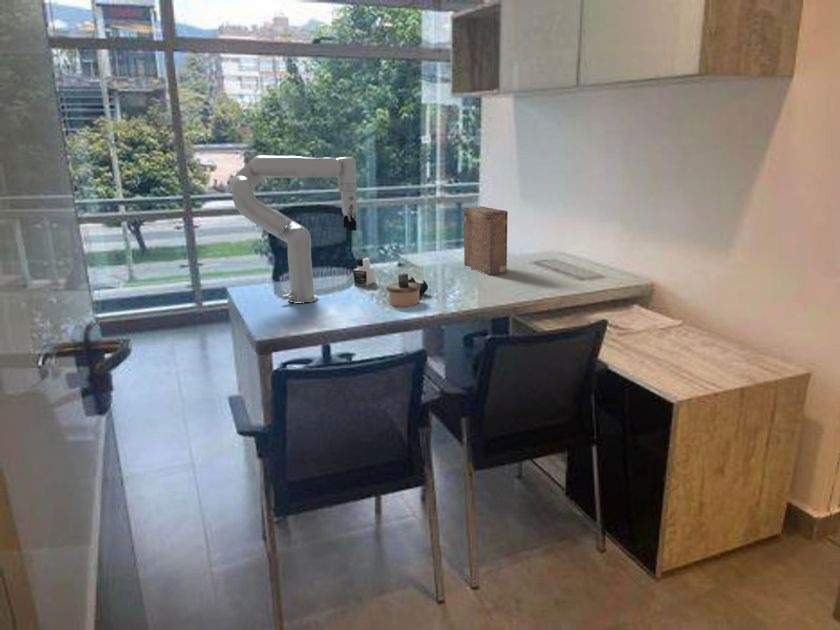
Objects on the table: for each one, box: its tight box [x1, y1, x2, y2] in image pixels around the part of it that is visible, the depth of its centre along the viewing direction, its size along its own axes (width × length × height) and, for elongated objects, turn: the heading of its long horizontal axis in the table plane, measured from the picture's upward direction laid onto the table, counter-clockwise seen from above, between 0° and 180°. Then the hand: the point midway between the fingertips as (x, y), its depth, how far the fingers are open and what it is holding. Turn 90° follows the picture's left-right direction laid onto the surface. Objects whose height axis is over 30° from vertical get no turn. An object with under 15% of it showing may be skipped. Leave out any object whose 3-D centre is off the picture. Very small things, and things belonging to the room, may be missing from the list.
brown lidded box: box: [463, 205, 509, 276], centre depth 307 cm, size 25×9×30 cm, turn 26°
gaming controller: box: [408, 276, 429, 297], centre depth 269 cm, size 17×6×10 cm
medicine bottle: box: [352, 256, 376, 286], centre depth 289 cm, size 7×7×12 cm
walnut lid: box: [385, 272, 421, 293], centre depth 254 cm, size 14×14×6 cm
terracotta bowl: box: [388, 290, 420, 308], centre depth 255 cm, size 12×12×6 cm
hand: (350, 228), depth 265 cm, fingers open, 9 cm apart
